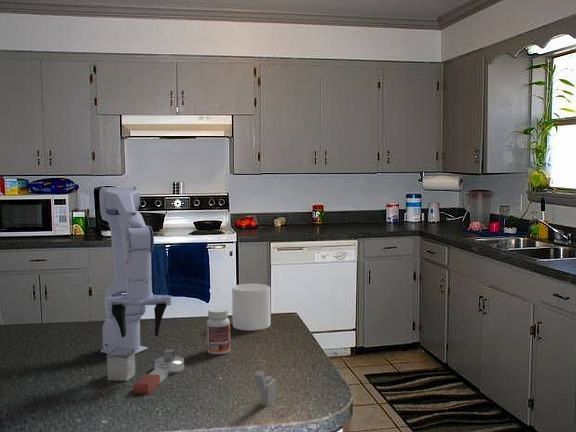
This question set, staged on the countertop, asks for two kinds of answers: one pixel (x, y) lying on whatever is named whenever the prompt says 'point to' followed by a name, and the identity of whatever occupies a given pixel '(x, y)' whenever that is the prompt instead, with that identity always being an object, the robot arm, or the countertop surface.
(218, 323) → the pill bottle
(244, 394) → the countertop surface
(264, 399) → the lighter
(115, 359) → the grey block
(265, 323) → the white cylinder
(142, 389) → the ratchet
